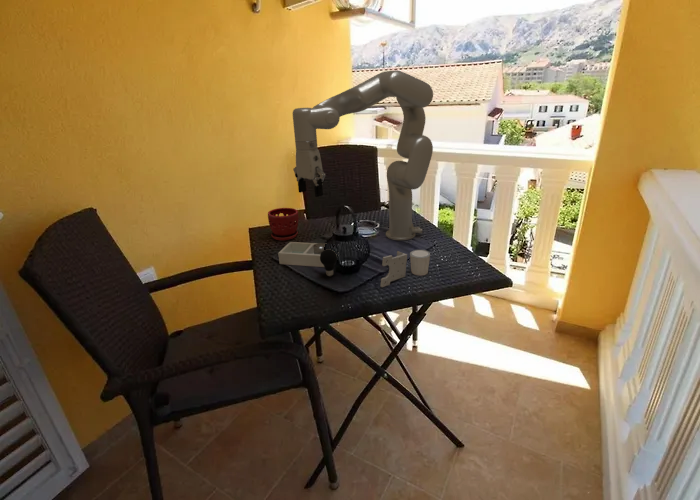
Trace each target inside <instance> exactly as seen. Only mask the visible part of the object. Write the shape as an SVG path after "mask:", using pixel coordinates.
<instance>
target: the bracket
mask: <svg viewBox="0 0 700 500" xmlns="http://www.w3.org/2000/svg"><path fill="white" fill-rule="evenodd" d="M407 261H408V253H404V252H401V251H398V250H397V251H396V256H393V255H392V254H390V255H386V256H383V257H382V262H381V263H382V264H381V266H383V267H387V266H388V269H389V270H388V273H387V274H386V275H385V276H384V277H382V278H381V279H380V285H379V286H380V288H384V287H387V286H390V285H391V282H394V281H397V280H400V279H402V278H405V277H406V273H407V272H406V270H407Z"/></svg>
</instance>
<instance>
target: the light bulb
mask: <svg viewBox="0 0 700 500" xmlns="http://www.w3.org/2000/svg"><path fill="white" fill-rule="evenodd" d="M337 260H338V257H337V254H336V253H335V251H333V250H331V249H326V250H324V251H323V252H322V253H321V255H320V261H321V263H322V264H323V265H324V267H323V268H324V269H325V274H326V276H328V277H332V276H333V275H334V269H335V264H336V262H337Z"/></svg>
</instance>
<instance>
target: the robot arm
mask: <svg viewBox="0 0 700 500" xmlns="http://www.w3.org/2000/svg"><path fill="white" fill-rule="evenodd" d="M387 98H396V102H397V104H398V105H399V107H400V108H401V110H402V113H403V120H402V125H401V129H400V133H399V136H398V140H397V144H396V152H397V154H398V155H399V156H400V157H401V158H404V159H408V160H407V161H403V160H395V161H393V162H391V163H390V164H389V165H388V167H387V169H386V181H387V186H388V187H387V188H388V210H389V211H388V213H389V215H388V216H389V217H388V219H389V221H388V223H389V225H388V230H387V231H386V232H385V237H386V238H387V239H390V240H393V241H408V240H411V239H413V238H415V237H416V234H423V228H421V227H420V226H414V223H413V220H412V219H413V191H412V190H417V189H419V188H420V187H421V186H422V185H423V183H424V181H425V179H426V177H427V173H428V170H429V167H430V164H431V160H432V156H433V153H434V147H433V142H432V140H431V139H430V138H429V137H428V136H426V135H424V129H425V126H426V113H425V109H424V108H427V106H429V105H430V104H431V102H432V101H433V98H434V91H433V88H432V86H431V85H430V84H428V83H427V82H426V81H424V80H422V79H420V78H417V77H415V76H413V75H411V74H408V73H406V72H404V71H401V70H397V69H395V70H386V71H383V72H380V73H378V74H376V75H374V76H372V77H370V78H368V79H366V80H365V81H363V82H361V83H359V84H357V85H355V86H352V87H351V88H349V89H346V90H344V91H342V92H340V93H338V94H335V95H334V96H331V97H330V98H327V99H325V100H324V101H321V102H319V103H317V104H315V105H314V106H313V107H298V108H294V109H293V110H292V120H293V121H292V123H293V133H294V145H295V166H294V167H293V172H294V177H295V178H296V182H297V188H298V193H305V192H307V181H306V180H309V181H310V180H311V181H312V182H313V184H314V186H313V187H314V188H313V189H314V197H316V198H319V197H322V196H324V193H323V191H324V190H323V185H324V182H325V179H326V176H327V175H326V173H325V172H324V169H323V164H322V163H323V162H322V159H321V153H320V150H319V149H318V137H317V130H332V129H334V128H336V127H337V126H338V124H339V123H340V117H343V116H346V115H349V114H355V113H356V114H357V113H361V112H363V111H366V110H368V109H370V108H371V107H373V106H374V105H376V104H378V103H380V102H382V101H383V100H386V99H387ZM305 179H306V180H305Z"/></svg>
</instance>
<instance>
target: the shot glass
mask: <svg viewBox="0 0 700 500" xmlns="http://www.w3.org/2000/svg"><path fill="white" fill-rule="evenodd" d="M409 258H410V259H409V260H410V270H411V271H410V272H411V274H413V275H415V276H425V275H428V273H429V266H430V259H431V253H430V251H428V250H425V249H414V250H412V251H410V252H409Z"/></svg>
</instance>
